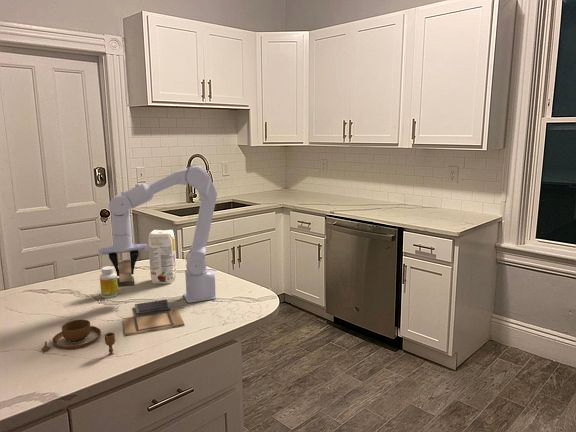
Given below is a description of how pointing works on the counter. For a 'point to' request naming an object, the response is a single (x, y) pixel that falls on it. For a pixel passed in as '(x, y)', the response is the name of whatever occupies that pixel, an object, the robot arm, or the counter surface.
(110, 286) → the supplement bottle
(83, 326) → the place setting
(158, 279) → the juice carton
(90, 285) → the counter surface
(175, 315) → the marked board
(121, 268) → the stamp
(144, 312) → the ink pad
